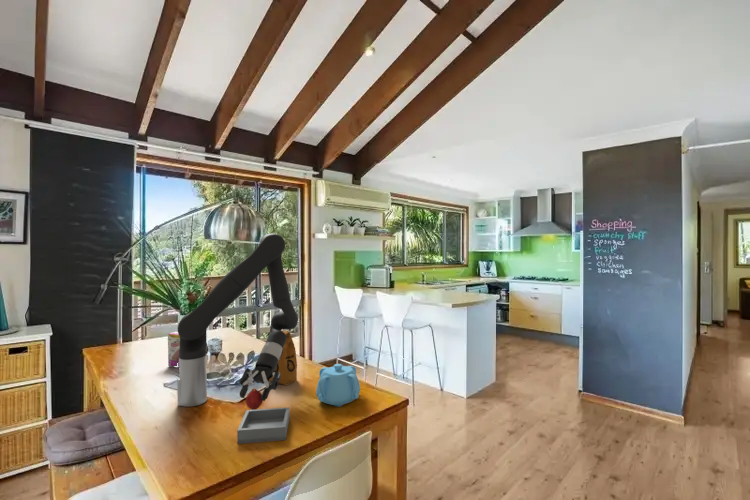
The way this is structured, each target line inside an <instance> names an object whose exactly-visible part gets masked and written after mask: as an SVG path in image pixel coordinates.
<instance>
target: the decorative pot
mask: <svg viewBox="0 0 750 500" xmlns="http://www.w3.org/2000/svg"><path fill="white" fill-rule="evenodd" d="M318 379H319V380H318V382H317V385H316V397H317V400H318V401H319V402H322V403H324V404H327V405H331V406H334V407H337V408H340V407H343V405H346V404H349V403H351V402H354V400H357V399H358V398H359V394H360V391H361V385H360V381H359V378H358V376H357V369H356V367H355V366H353V365H348V366H346V365H343V364H342V363H335V364H333V366H330V367H327V366H324V367H322V368H320V370H319V378H318Z"/></svg>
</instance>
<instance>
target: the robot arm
mask: <svg viewBox="0 0 750 500" xmlns="http://www.w3.org/2000/svg"><path fill="white" fill-rule="evenodd" d="M285 248H286V241H285V239H284V237H283V236H282V235H280V234H277V233H271V232H270V233H267V234H265V235H263V236H262V237H261V239H260V242H259V245H258V246H257V247H256V248H255V250H254V251H253V252H252V253H251V254H250V255H248V257H246V258H245V259H244V260H243V261H241V262H239V263H238V264H237V265H235V266H234V267H233V268H232V269H231V270H229V271H228V272H227V273H226V274H225V275H224V276H223V277H222V279H220V280H219V282H218V283H217V284H216V285H215V286H214V287H213V288H212V290H211V291H210V292H209V293H208V295H207V296H206V298H205V299H204V300H203V301H202V302H201V303H200V304H199V305H198V306H197V307H195V309H193V310H192V311H191V312H189V313H186V314H185V315H184V316H182V317H181V319H180V321H179V323H178V325H177V332H178V334H179V336H180V348H179V368H178V370H179V371H178V372H179V377H178V379H177V380H176V381H177V383H176V384H177V385H176V386H177V388H176V389H177V394H176V395H177V406H178V407H179V406H182V407H188V408H191V407H195V406H199V405H202V404H204V403H205V402H207V400H208V399H207V398H208V391H207V390H208V389H207V388H208V387H207V386H208V385H207V383H208V382H207V381H208V380H207V379H208V378H207V346H208V345H207V337H208V336H207V330H208V327H209V326H210V325H211V324H212V322H214V320H215V319H216V318H217V317H218V316H219V315H220V314H221V313H222V312H224V310H225V309H227V308H228V307H229V306H230V305H231V304H233V302H235V301H236V300H237V299H238V298H239V297H240V296H241V295H242V294H243V293H244V292H245V291H246V290H247V289H248V288H249V287H250V285H251V284H252V283H254V281H255V280H256V279H257V278H258V276H259V275H260V274H261V273H262V271H263V270H265V268H266V269H267V273H268V280H269V287H270V293H271V300H272V305H273V306H274V308H277V309H280V310H281V311H278V312H276V313H274V314H273V315H272V317H271V319H270V326H269V333H268V334H269V335H268V337H267V339H266V341H265V343H264V345H263V347H262V348H261V351H260V353H259V355H258V357H257V359H256V362H255V366H254V368H253V369H250V368H245V370H244V372H243V374H242V375H241V378H240V380H239V384H240V385H241V386H242V387H241V390H240V392H239V397H240V398H242V399H245V397H246V396H247V392H248V390H249V388H250V387H251V386H253V385H254V384H261V385H262V384H264V386H265V388H264V389H263V391H262V393H261V394H262V396H261V400H262V401H264V402H265V401H266V400H267V399H268V396H269V395H270V392H271V391H273V390H277V388H278V385H279V383H278V382H279V379H280V376H281V375H280V373H279V372H278V371H276V372H274V371H275V369H276V366H277V364H278V361H279V359H280V356H281V353H282V350H283V347H284V345H285V342H286V339H287V336H286V334H285V333H283V332H282V331H283V330H294V329H296V327H297V326H298V322H299V318H298V314H297V312H296V309H295V307H294V305H293V303H292V301H291V296H290V295H291V294H290V290H289V285H288V281H287V278H286V274H285V270H284V265H283V259H282V258H283V257H282V254H283V253H284V251H285ZM272 377H273V380H272V381H270V380H269V379H270V378H272Z"/></svg>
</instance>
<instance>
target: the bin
mask: <svg viewBox="0 0 750 500" xmlns="http://www.w3.org/2000/svg"><path fill="white" fill-rule="evenodd" d="M290 412H291V411H290V406H289V407H276V408H275V407H273V408H261V409H260V408H257V409H256V410H252V409H246V410H245V412H244V414H243V416H242V419H241V421H240V424H239V426H238V428H237V433H236V436H237V437H236V438H237V439H236V442H237V443H236V444H237V445H240V444H252V443H265V442H266V443H267V442H279V441H287V436H288V435H287V434H288V429H289V423H290V419H291V417H290Z"/></svg>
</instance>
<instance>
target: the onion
mask: <svg viewBox="0 0 750 500" xmlns="http://www.w3.org/2000/svg"><path fill="white" fill-rule="evenodd" d="M261 396H262V393H261V391H259V390H257V389H256V388H254V387H253V388H252V389H251V391H249V392H248V394H246V396H245V397H246V398H245V405H246V406H247V407H248V408H249V410H256V409H260V407H261V405H262V404H263V401H262V400H261Z"/></svg>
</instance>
